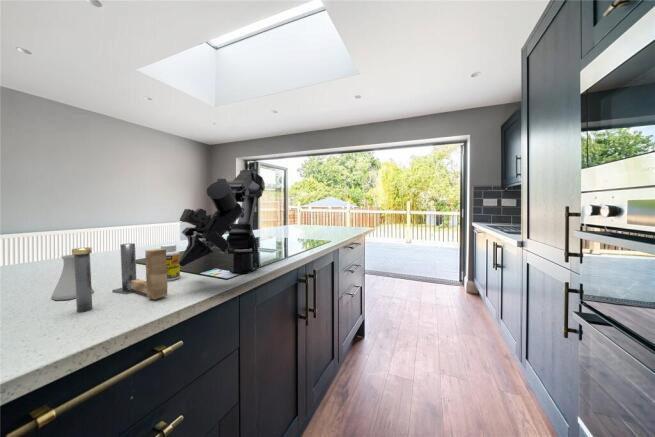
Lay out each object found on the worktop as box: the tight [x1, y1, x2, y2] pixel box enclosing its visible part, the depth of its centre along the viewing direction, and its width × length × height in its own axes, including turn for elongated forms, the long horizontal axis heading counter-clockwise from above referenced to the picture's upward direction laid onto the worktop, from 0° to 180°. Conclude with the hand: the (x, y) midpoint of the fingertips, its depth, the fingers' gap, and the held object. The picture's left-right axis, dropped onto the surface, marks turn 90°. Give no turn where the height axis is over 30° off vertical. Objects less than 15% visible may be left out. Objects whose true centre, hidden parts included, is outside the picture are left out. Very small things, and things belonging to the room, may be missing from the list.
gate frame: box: [71, 242, 139, 313], centre depth 61 cm, size 16×8×13 cm, turn 163°
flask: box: [50, 254, 95, 301], centre depth 63 cm, size 7×7×10 cm
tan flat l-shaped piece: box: [131, 248, 169, 300], centre depth 63 cm, size 12×3×11 cm, turn 61°
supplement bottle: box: [160, 243, 181, 282], centre depth 77 cm, size 6×6×10 cm
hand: (180, 265), depth 64 cm, fingers closed
